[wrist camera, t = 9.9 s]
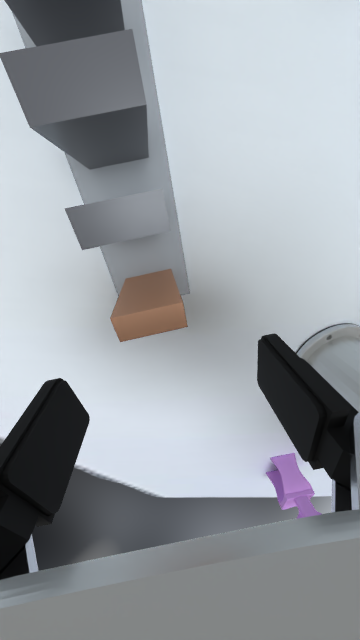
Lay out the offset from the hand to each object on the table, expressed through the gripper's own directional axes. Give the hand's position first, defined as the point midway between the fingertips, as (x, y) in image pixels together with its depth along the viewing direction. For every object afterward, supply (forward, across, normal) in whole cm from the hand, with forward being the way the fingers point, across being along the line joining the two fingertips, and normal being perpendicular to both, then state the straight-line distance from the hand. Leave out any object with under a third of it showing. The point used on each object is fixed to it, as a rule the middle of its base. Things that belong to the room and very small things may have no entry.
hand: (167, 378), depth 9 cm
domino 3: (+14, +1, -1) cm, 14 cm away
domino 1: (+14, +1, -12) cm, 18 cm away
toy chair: (+16, -19, +54) cm, 59 cm away
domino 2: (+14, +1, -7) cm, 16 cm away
